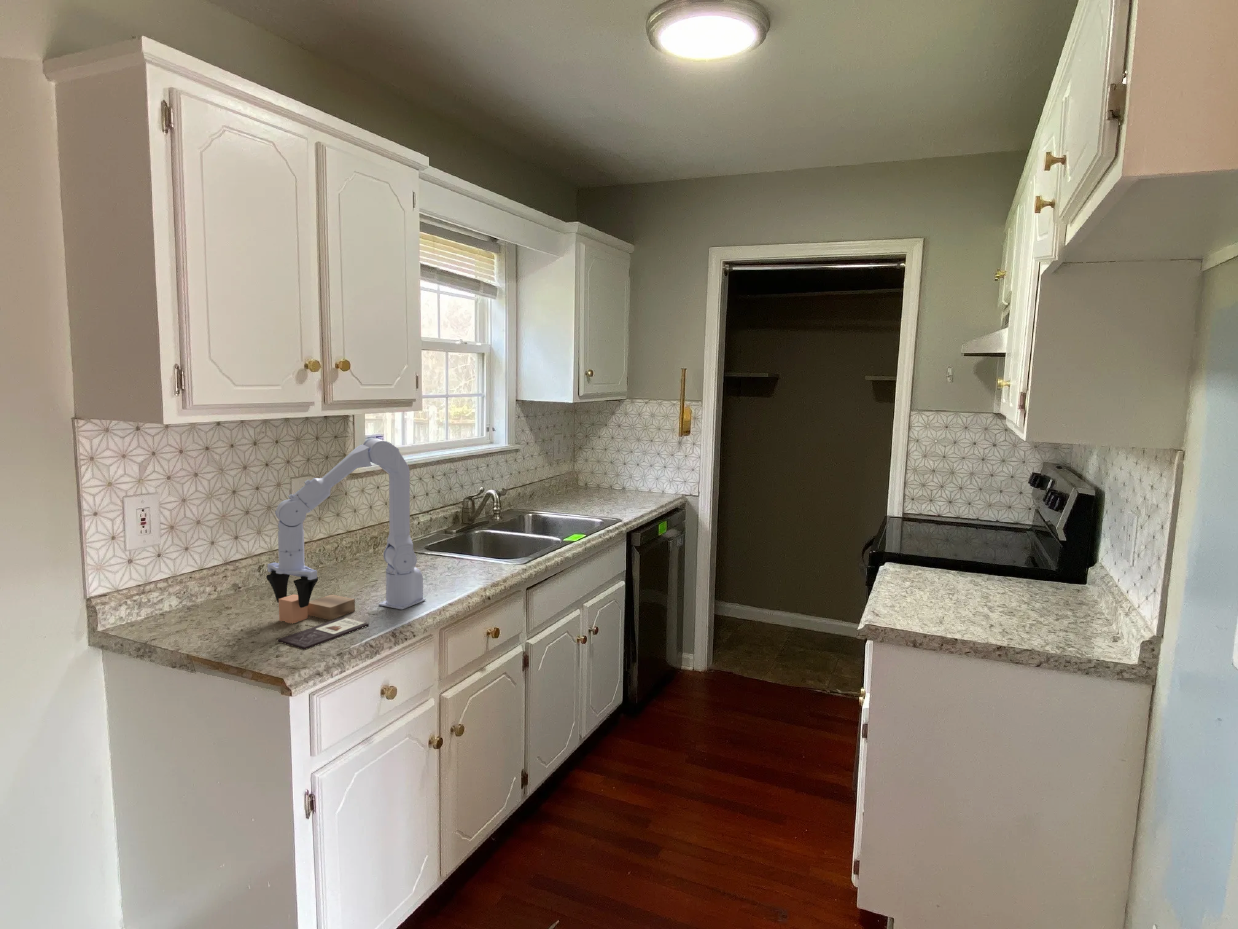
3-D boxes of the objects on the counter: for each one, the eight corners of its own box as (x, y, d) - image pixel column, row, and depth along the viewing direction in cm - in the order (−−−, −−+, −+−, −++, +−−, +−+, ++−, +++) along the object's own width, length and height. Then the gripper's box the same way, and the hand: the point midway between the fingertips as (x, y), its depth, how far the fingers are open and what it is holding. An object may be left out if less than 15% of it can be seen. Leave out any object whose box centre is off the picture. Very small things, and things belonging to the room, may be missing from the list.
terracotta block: (294, 615, 182) (293, 594, 181) (307, 618, 180) (307, 596, 180) (279, 620, 178) (278, 599, 177) (292, 624, 176) (291, 601, 176)
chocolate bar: (277, 639, 164) (342, 617, 180) (277, 643, 165) (342, 620, 180) (304, 647, 160) (368, 624, 176) (304, 651, 160) (368, 627, 176)
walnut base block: (331, 607, 190) (331, 594, 190) (354, 612, 187) (354, 599, 186) (306, 616, 183) (306, 602, 182) (330, 621, 179) (330, 607, 179)
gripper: (256, 549, 176) (257, 603, 178) (299, 556, 170) (300, 613, 172) (280, 543, 183) (282, 596, 184) (323, 550, 177) (324, 605, 178)
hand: (292, 604), depth 179 cm, fingers open, 7 cm apart
